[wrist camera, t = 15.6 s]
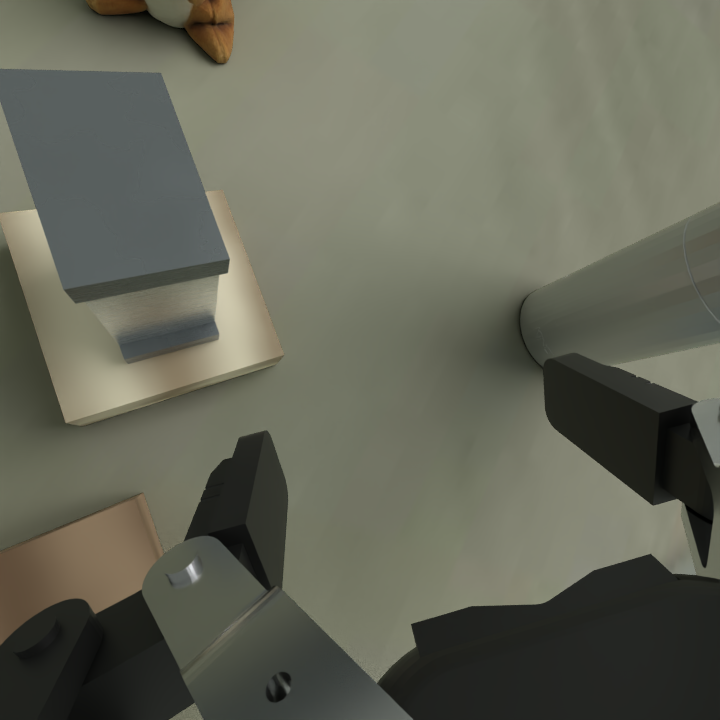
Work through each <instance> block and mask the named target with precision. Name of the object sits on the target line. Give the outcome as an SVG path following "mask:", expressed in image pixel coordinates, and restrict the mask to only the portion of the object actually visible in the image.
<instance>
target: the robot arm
mask: <svg viewBox="0 0 720 720" xmlns="http://www.w3.org/2000/svg"><path fill="white" fill-rule="evenodd" d="M520 327H521V332H522V336H523V339H524V342H525V344H526V346H527V348H528V350H529V352H530V354H531V355H532V356H533V358H534V359H535V360H536V361H537V362H538V363H539V364H540V365H541V366H542V367H543V375H544V396H545V411H546V415H547V417H548V420H549V422H550V423H551V425H552V426H553V427H554V428H555V429H556V430H557V431H558V432H559V433H561V434H562V435H563V436H565V437H566V438H567V439H568V440H570V441H571V442H572V443H574V444H575V445H576V446H577V447H579V448H580V449H581V450H582V451H584V452H585V453H586V454H588V455H589V456H590V457H591V458H593V459H594V460H595V461H597V462H598V463H599V464H600V465H602V466H603V467H604V468H605V469H607V470H608V471H609V472H611V473H612V474H613V475H614V476H616V477H617V478H618V479H620V480H621V481H622V482H623V483H625V484H626V485H627V486H629V487H630V488H631V489H632V490H634V491H635V492H636V493H637V494H639V495H640V496H641V497H643V498H644V499H645V500H646V501H648V502H649V503H650V504H652V505H653V506H654V505H657V504H661V503H664V502H668V501H671V500H675V499H679V500H680V501H681V502H682V508H681V518H682V521H683V525H684V529H685V533H686V537H687V540H688V544H689V548H690V552H691V556H692V559H693V563H694V567H695V571H696V575H685V574H672V573H671V572H670V571H669V570H667V569H666V568H665V567H664V566H663V565H662V564H661V563H660V562H659V561H658V560H657V559H656V558H655V557H653V556H652V555H651V554H649V555H645V556H642V557H638V558H635V559H632V560H628V561H625V562H621V563H618V564H615V565H611V566H608V567H604V568H601V569H598V570H594V571H592V572H591V573H589V574H588V575H586V576H585V577H583V578H582V579H580V580H579V581H577V582H576V583H575V584H573V585H572V586H570V587H569V588H567V589H566V590H564V591H563V592H561V593H560V594H558V595H557V596H555V597H554V598H552V599H551V600H549V601H547V602H546V603H543V604H537V605H503V606H471V607H468V608H464V609H461V610H458V611H454V612H451V613H447V614H444V615H441V616H437V617H434V618H430V619H427V620H424V621H420V622H417V623H413V624H411V626H412V630H413V634H414V638H415V643H416V647H415V648H414V649H413V650H411V651H410V652H408V653H407V654H405V655H404V656H403V657H402V658H401V659H399V660H398V661H397V662H396V663H395V664H394V665H393V666H391V668H390V669H389V670H388V671H387V672H386V673H385V674H384V675H383V676H382V678H381V679H380V680H379V681H378V683H376V682H375V681H374V680H373V679H372V678H371V677H370V676H369V675H368V674H367V673H366V672H365V671H364V670H363V669H362V668H361V667H360V666H359V665H358V664H357V663H356V662H355V661H354V660H353V659H352V658H351V657H350V656H349V655H348V654H347V653H346V652H345V651H344V650H343V649H342V648H341V647H340V646H339V645H338V644H336V643H335V642H334V641H333V640H332V639H331V638H330V637H329V636H328V635H327V634H326V633H325V632H324V631H323V630H322V629H321V628H320V627H319V626H318V625H317V624H316V623H315V622H314V621H313V620H312V619H311V618H310V617H309V616H308V615H307V614H306V613H305V612H304V611H303V610H302V609H301V608H300V607H299V606H298V605H297V604H296V603H295V602H294V601H293V600H292V599H291V598H290V597H289V596H288V595H287V594H286V593H285V592H284V591H283V590H282V581H283V567H284V552H285V538H286V523H287V509H288V491H287V485H286V480H285V477H284V474H283V471H282V468H281V465H280V462H279V459H278V456H277V453H276V450H275V447H274V444H273V441H272V438H271V436H270V434H269V432H268V431H267V430H266V431H262V432H258V433H254V434H250V435H246V436H242V437H240V438H239V439H238V442H237V445H236V448H235V451H234V454H233V457H232V458H229V459H225V460H223V461H222V462H221V463H220V464H219V465H218V466H217V467H216V469H215V470H214V471H213V472H212V473H211V474H210V477H209V479H208V482H207V484H206V487H205V488H206V490H204V492H203V494H202V497H201V502H199V505H198V507H197V510H196V512H195V515H194V517H193V520H192V522H191V525H190V527H189V530H188V532H187V535H186V537H185V540H184V542H182V543H180V544H178V545H176V546H175V547H173V548H171V549H170V550H169V551H167V552H166V553H165V554H164V555H162V556H161V557H160V558H159V559H158V560H157V561H156V562H155V563H154V564H153V566H152V567H151V568H150V570H149V571H148V573H147V575H146V576H145V579H144V581H143V585H142V590H140V591H138V592H136V593H135V594H133V595H131V596H129V597H127V598H125V599H123V600H121V601H119V602H117V603H115V604H114V605H112V606H110V607H108V608H106V609H104V610H102V611H100V612H98V613H96V614H95V613H94V612H93V610H92V609H91V607H90V605H89V604H88V603H87V602H86V601H85V600H83V599H78V598H75V599H68V600H64V601H61V602H59V603H56V604H54V605H52V606H50V607H48V608H46V609H44V610H42V611H41V612H39V613H37V614H36V615H34V616H33V617H31V618H30V619H29V620H27V621H26V622H25V623H23V624H22V625H21V626H20V627H19V628H18V629H16V630H15V631H14V632H13V633H12V634H11V635H10V636H9V637H8V638H7V639H6V640H5V641H4V642H3V643H2V644H1V645H0V720H169V719H170V718H172V717H173V716H175V715H176V714H178V713H179V712H181V711H183V710H184V709H186V708H187V707H189V706H190V705H192V704H193V703H196V705H197V707H198V709H199V711H200V713H201V715H202V717H203V719H204V720H720V398H713V399H706V400H702V401H700V402H697V401H695V400H692V399H690V398H688V397H685V396H683V395H681V394H678V393H676V392H674V391H671V390H669V389H667V388H664V387H662V386H659V385H657V384H655V383H652V384H651V383H650V381H648V380H645V379H643V378H641V377H636V375H634V374H631V373H629V372H627V371H624V370H622V369H620V368H616V367H611V366H612V365H616V364H621V363H626V362H631V361H636V360H640V359H645V358H650V357H655V356H660V355H664V354H669V353H674V352H679V351H684V350H688V349H693V348H698V347H703V346H708V345H712V344H717V343H720V202H719V203H717V204H715V205H712V206H710V207H708V208H706V209H704V210H702V211H700V212H698V213H696V214H694V215H692V216H690V217H688V218H686V219H684V220H682V221H680V222H678V223H676V224H673V225H671V226H669V227H667V228H665V229H663V230H661V231H659V232H657V233H655V234H653V235H651V236H649V237H646V238H644V239H642V240H640V241H638V242H636V243H634V244H632V245H630V246H628V247H626V248H624V249H621V250H619V251H617V252H615V253H613V254H611V255H609V256H607V257H605V258H603V259H601V260H599V261H597V262H594V263H592V264H590V265H588V266H586V267H584V268H582V269H580V270H578V271H576V272H574V273H572V274H569V275H567V276H565V277H563V278H561V279H559V280H557V281H555V282H553V283H550V284H548V285H546V286H544V287H542V288H540V289H538V290H536V291H534V292H532V293H531V294H530V295H529V296H528V297H527V298H526V300H525V301H524V303H523V306H522V309H521V315H520Z"/></svg>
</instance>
